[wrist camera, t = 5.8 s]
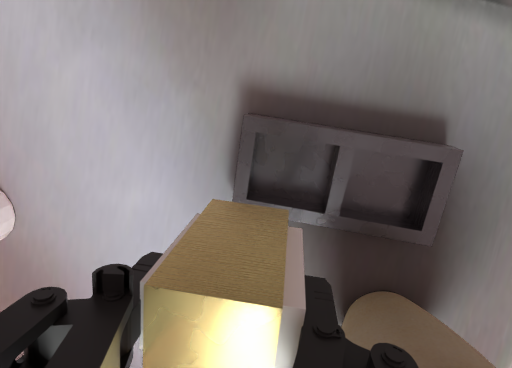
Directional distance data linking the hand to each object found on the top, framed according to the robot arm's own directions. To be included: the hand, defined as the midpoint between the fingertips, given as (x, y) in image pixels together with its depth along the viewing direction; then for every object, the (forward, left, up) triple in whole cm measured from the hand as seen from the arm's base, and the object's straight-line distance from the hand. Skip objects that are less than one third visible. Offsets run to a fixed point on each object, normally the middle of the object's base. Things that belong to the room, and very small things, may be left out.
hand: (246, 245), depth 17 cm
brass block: (0, 0, 0) cm, 0 cm away
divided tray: (+1, -6, -15) cm, 16 cm away
